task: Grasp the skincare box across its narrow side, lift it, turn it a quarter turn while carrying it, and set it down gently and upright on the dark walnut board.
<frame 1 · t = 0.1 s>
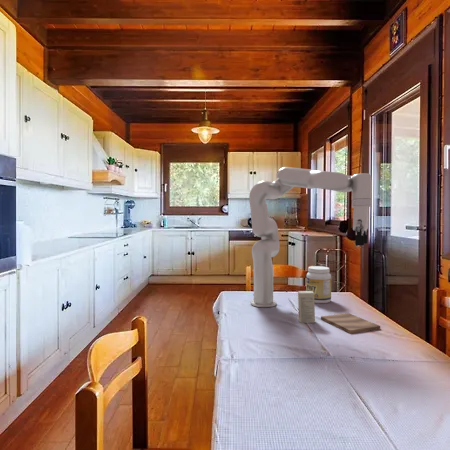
hand: (361, 244, 140), 31 cm above the table, tool pointing down, fingers open, 9 cm apart
skincare box: (306, 321, 138), on the table
walnut board: (349, 323, 134), on the table
supplement tub: (318, 301, 170), on the table
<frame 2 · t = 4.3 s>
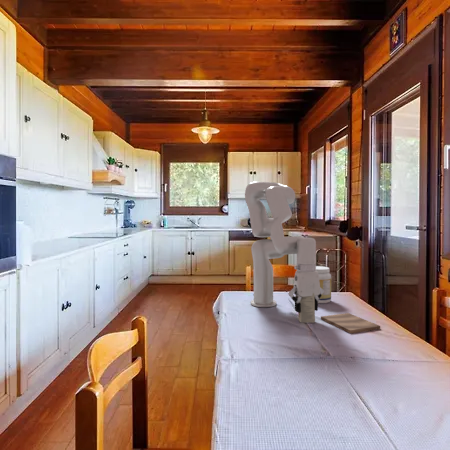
hand: (306, 310, 138), 4 cm above the table, tool pointing down, fingers closed on skincare box, 7 cm apart
skincare box: (306, 321, 138), on the table, touching gripper
everything else where it was.
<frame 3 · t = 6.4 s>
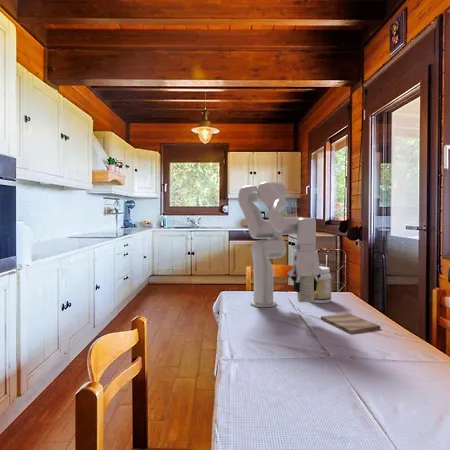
hand: (305, 290, 138), 13 cm above the table, tool pointing down, fingers closed on skincare box, 7 cm apart
skincare box: (305, 301, 138), point 8 cm above the table, touching gripper
everything else where it was.
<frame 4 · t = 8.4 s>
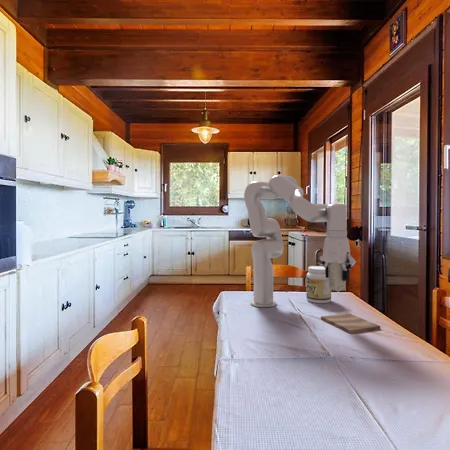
hand: (336, 278, 134), 18 cm above the table, tool pointing down, fingers closed on skincare box, 7 cm apart
skincare box: (336, 289, 134), point 13 cm above the table, touching gripper
everything else where it was.
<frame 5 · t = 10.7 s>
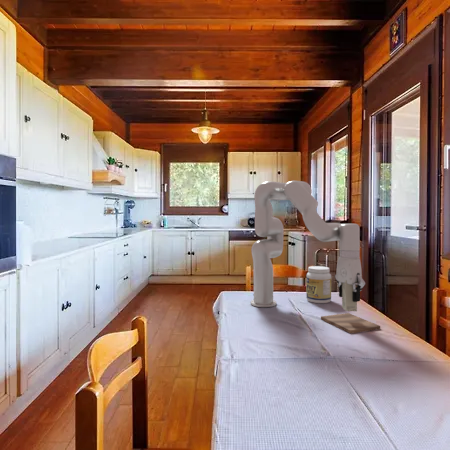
hand: (349, 298, 133), 10 cm above the table, tool pointing down, fingers closed on skincare box, 7 cm apart
skincare box: (349, 309, 134), point 6 cm above the table, touching gripper
everything else where it was.
when the fingers open (7 cm above the table, at t = 12.5 s): skincare box drops 1 cm, resting on walnut board.
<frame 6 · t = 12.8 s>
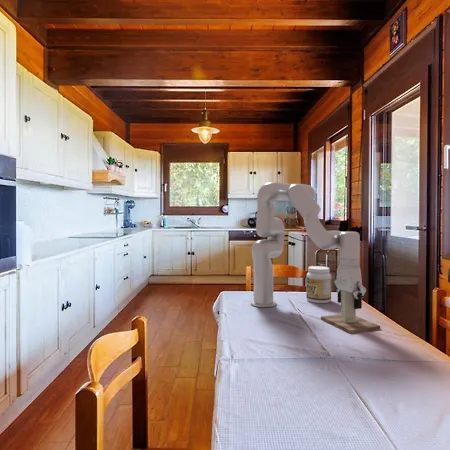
hand: (349, 305, 134), 7 cm above the table, tool pointing down, fingers open, 9 cm apart
skincare box: (348, 321, 134), point 1 cm above the table, touching walnut board
everything else where it was.
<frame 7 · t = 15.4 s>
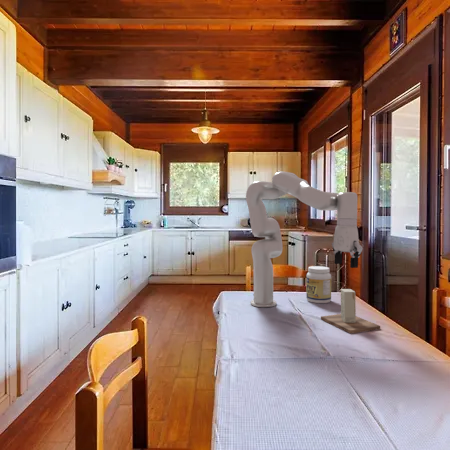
hand: (345, 265, 135), 23 cm above the table, tool pointing down, fingers open, 9 cm apart
nothing on the table moved.
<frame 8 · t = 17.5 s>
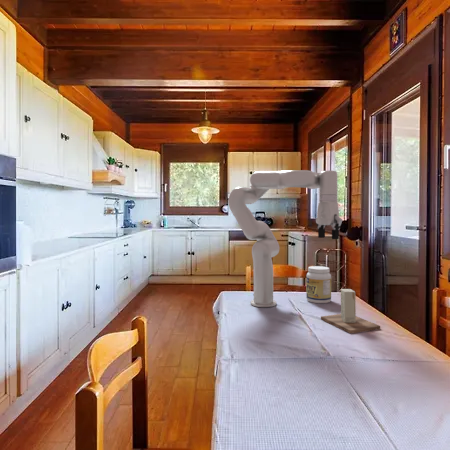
hand: (328, 238, 147), 33 cm above the table, tool pointing down, fingers open, 9 cm apart
nothing on the table moved.
at the end: skincare box inside the target area on the walnut board (0.5 cm from its centre), point 1.0 cm above the walnut board's base; skincare box tilted 0°; the gripper is holding nothing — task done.
